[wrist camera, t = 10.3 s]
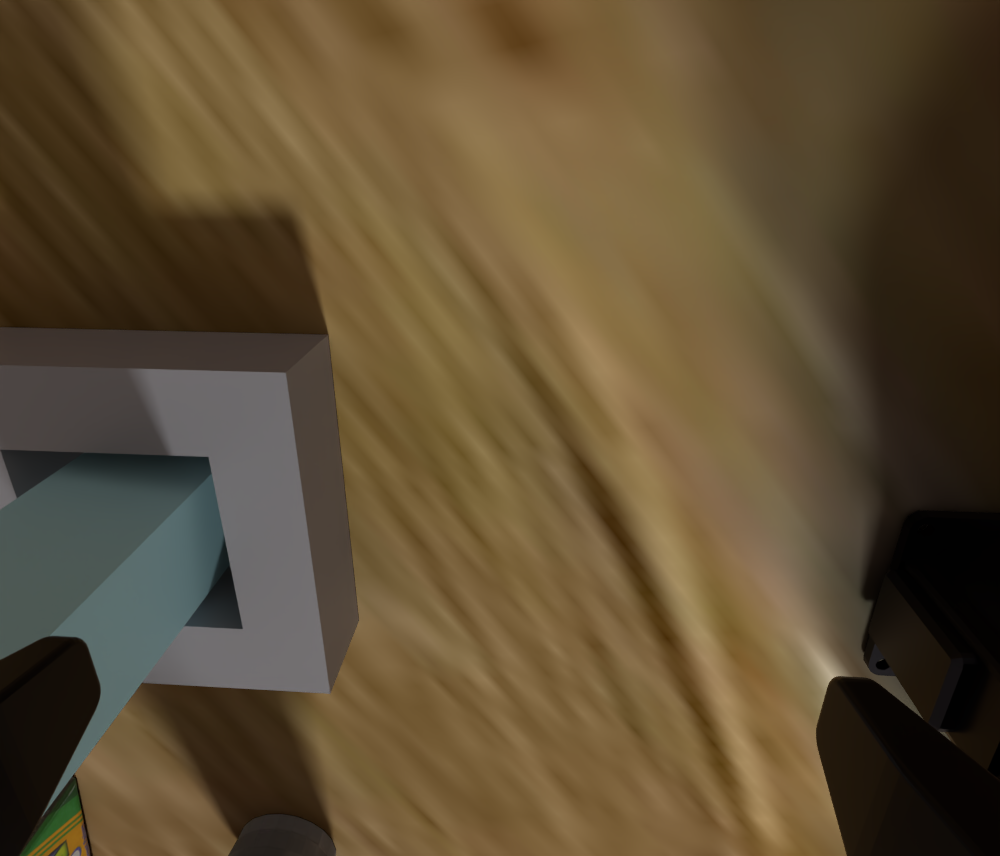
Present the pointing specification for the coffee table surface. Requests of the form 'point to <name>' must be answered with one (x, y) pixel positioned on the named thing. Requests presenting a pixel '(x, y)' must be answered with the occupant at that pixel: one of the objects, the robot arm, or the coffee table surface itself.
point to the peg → (110, 566)
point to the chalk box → (60, 827)
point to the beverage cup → (282, 838)
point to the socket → (235, 470)
